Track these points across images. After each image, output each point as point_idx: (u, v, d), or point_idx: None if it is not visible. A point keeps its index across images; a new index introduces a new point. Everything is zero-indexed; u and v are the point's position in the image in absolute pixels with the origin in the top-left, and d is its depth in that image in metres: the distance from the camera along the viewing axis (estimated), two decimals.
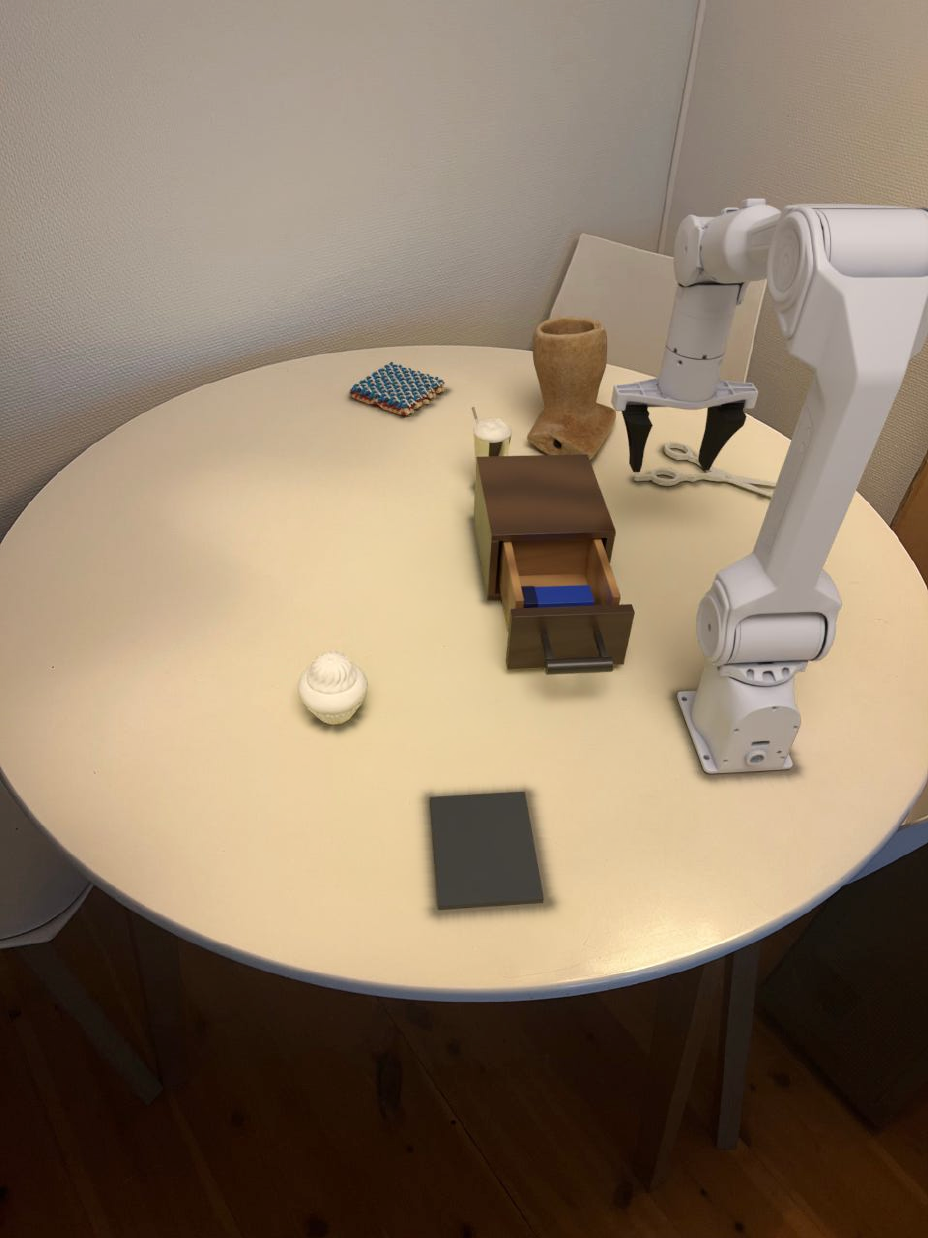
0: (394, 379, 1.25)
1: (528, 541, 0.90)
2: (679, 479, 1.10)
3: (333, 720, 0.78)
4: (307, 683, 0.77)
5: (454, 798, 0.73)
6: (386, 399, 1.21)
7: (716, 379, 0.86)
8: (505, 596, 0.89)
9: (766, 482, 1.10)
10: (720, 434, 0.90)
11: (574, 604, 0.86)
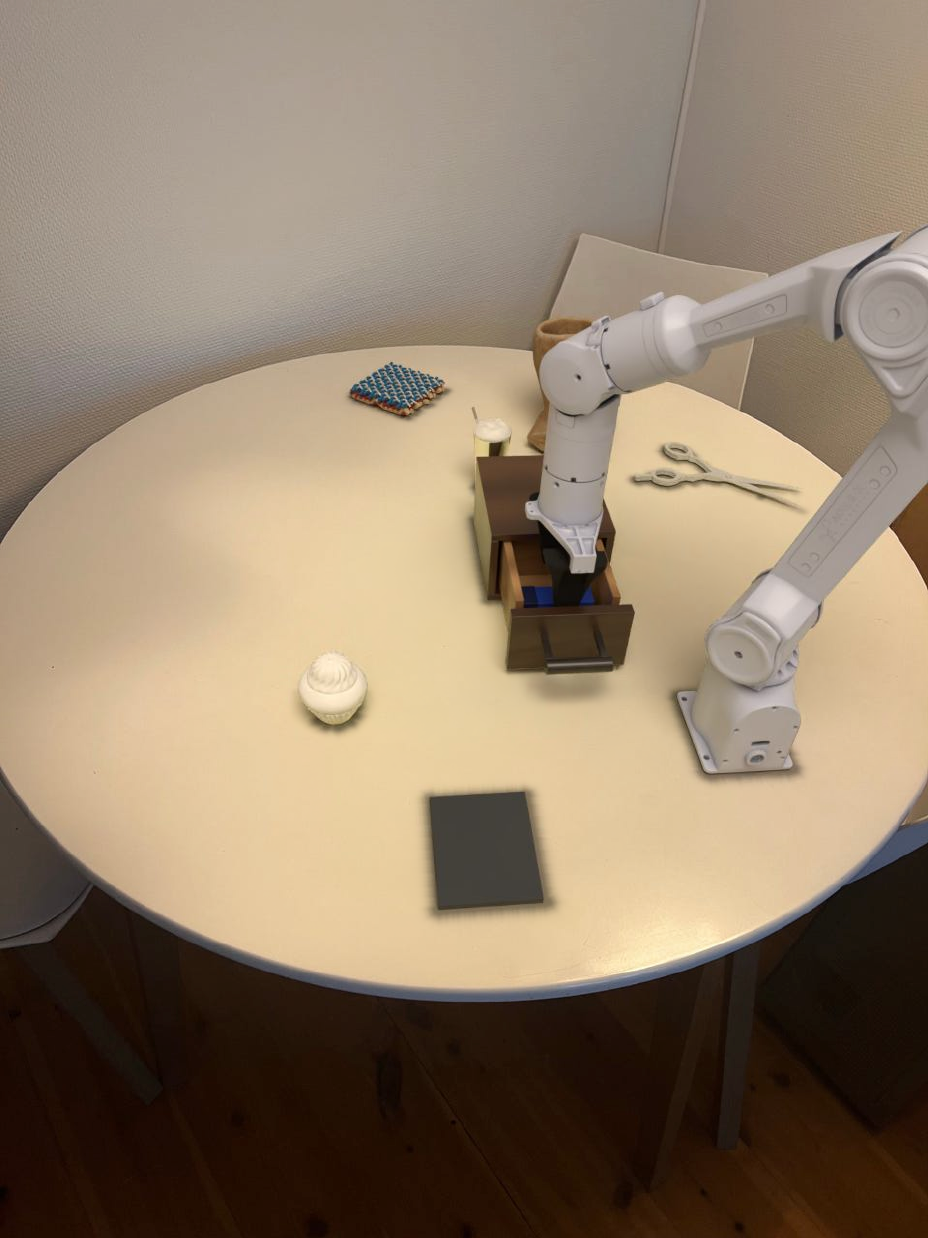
0: (394, 379, 1.25)
1: (528, 541, 0.90)
2: (679, 479, 1.10)
3: (333, 720, 0.78)
4: (307, 683, 0.77)
5: (454, 798, 0.73)
6: (386, 399, 1.21)
7: None
8: (505, 596, 0.89)
9: (766, 482, 1.10)
10: None
11: None
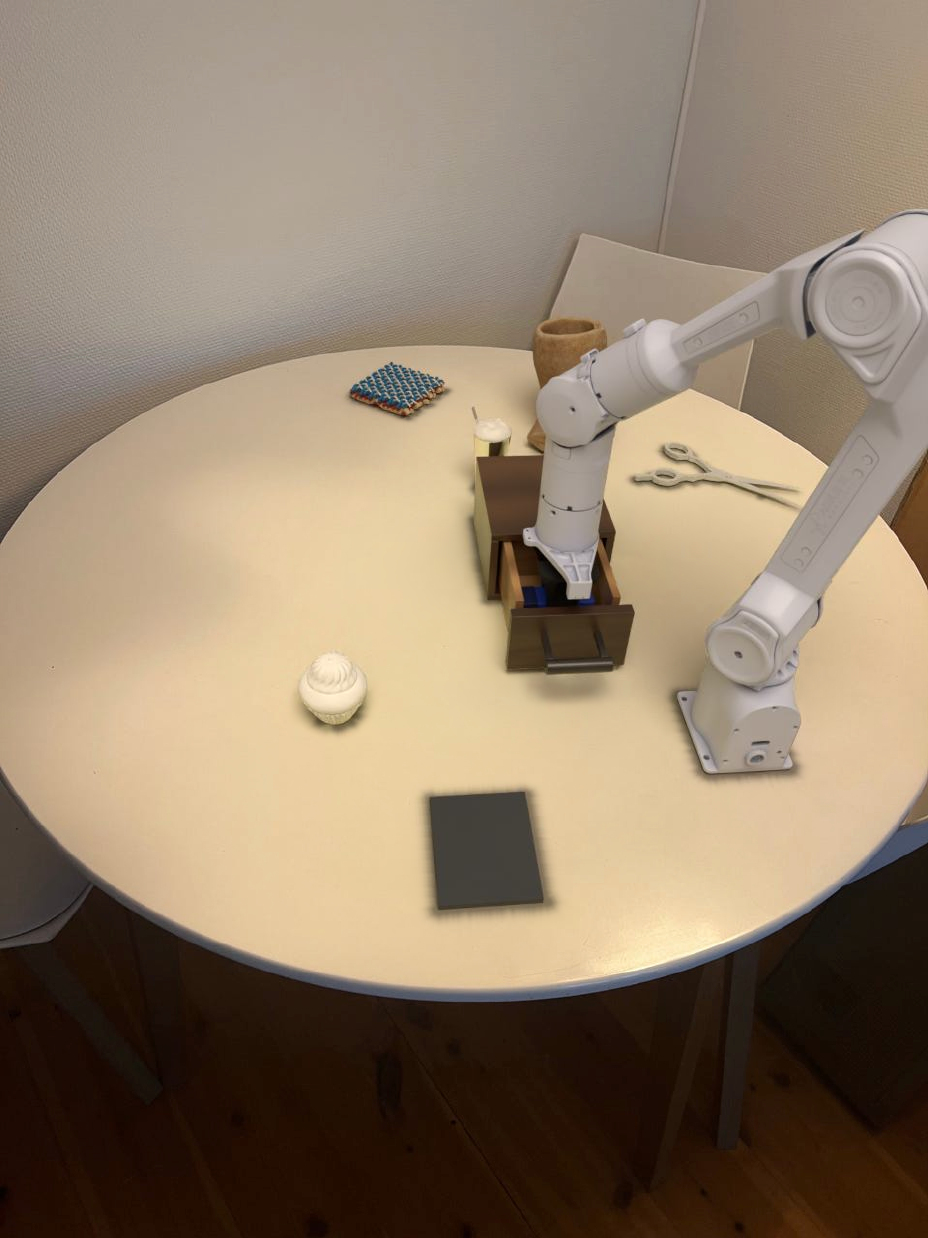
0: (394, 379, 1.25)
1: None
2: (679, 479, 1.10)
3: (333, 720, 0.78)
4: (307, 683, 0.77)
5: (454, 798, 0.73)
6: (386, 399, 1.21)
7: None
8: (505, 596, 0.88)
9: (766, 482, 1.10)
10: None
11: None
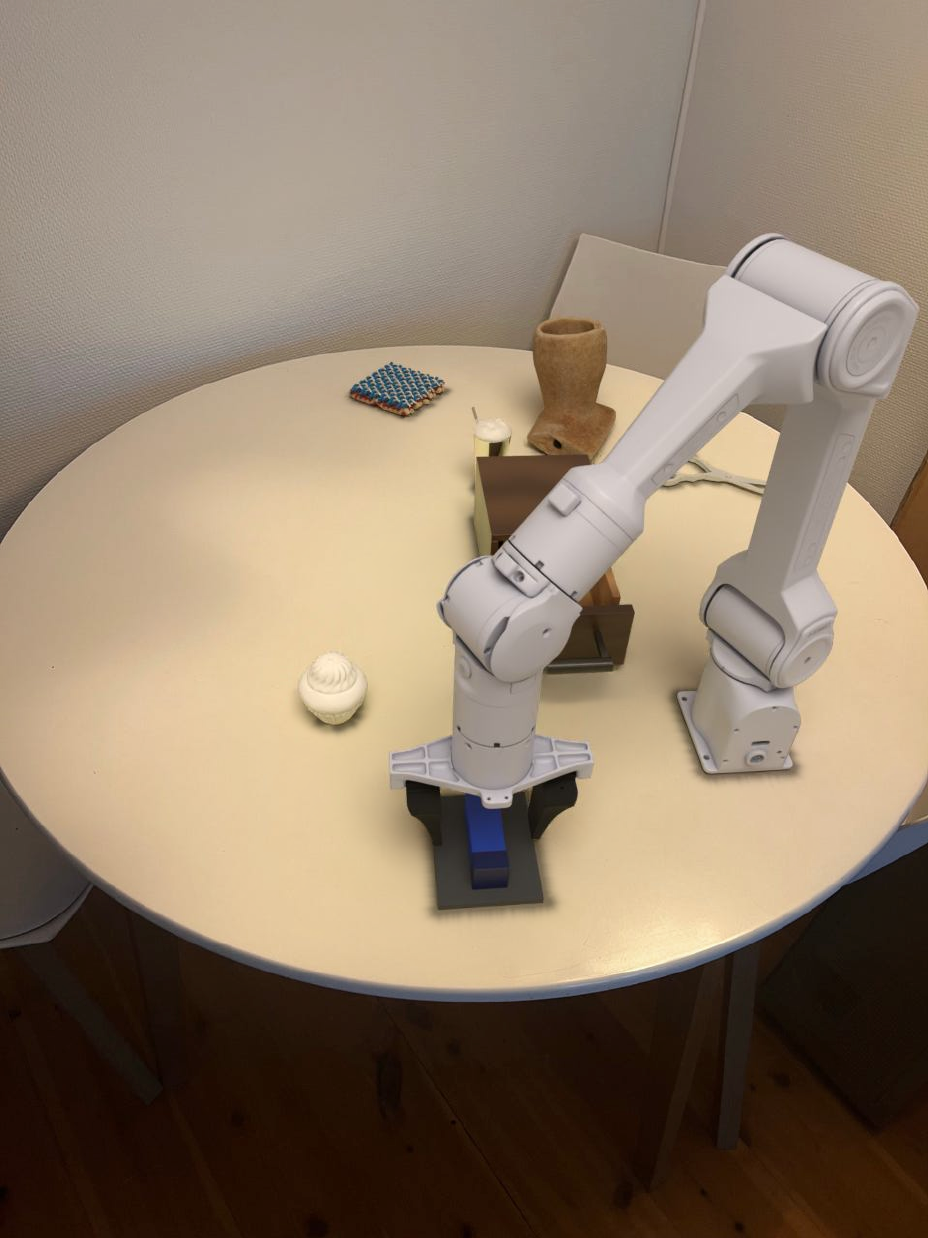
0: (394, 379, 1.25)
1: None
2: (679, 479, 1.10)
3: (333, 720, 0.78)
4: (307, 683, 0.77)
5: (454, 798, 0.73)
6: (386, 399, 1.21)
7: None
8: None
9: None
10: None
11: None
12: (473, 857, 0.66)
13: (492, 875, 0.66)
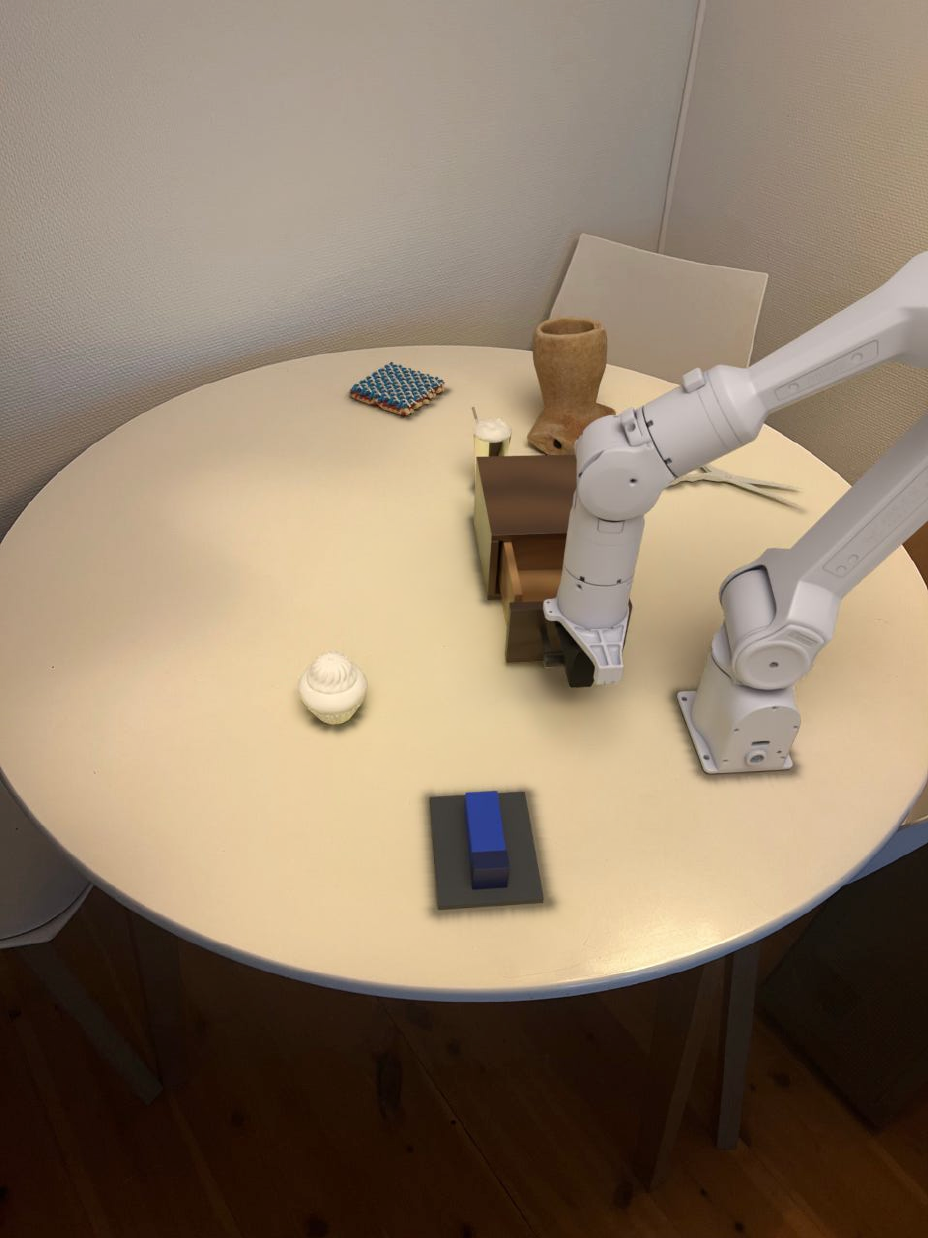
0: (394, 379, 1.25)
1: None
2: (679, 479, 1.10)
3: (333, 720, 0.78)
4: (307, 683, 0.77)
5: (454, 798, 0.73)
6: (386, 399, 1.21)
7: None
8: (504, 590, 0.89)
9: (766, 482, 1.10)
10: None
11: None
12: (473, 857, 0.66)
13: (492, 875, 0.66)
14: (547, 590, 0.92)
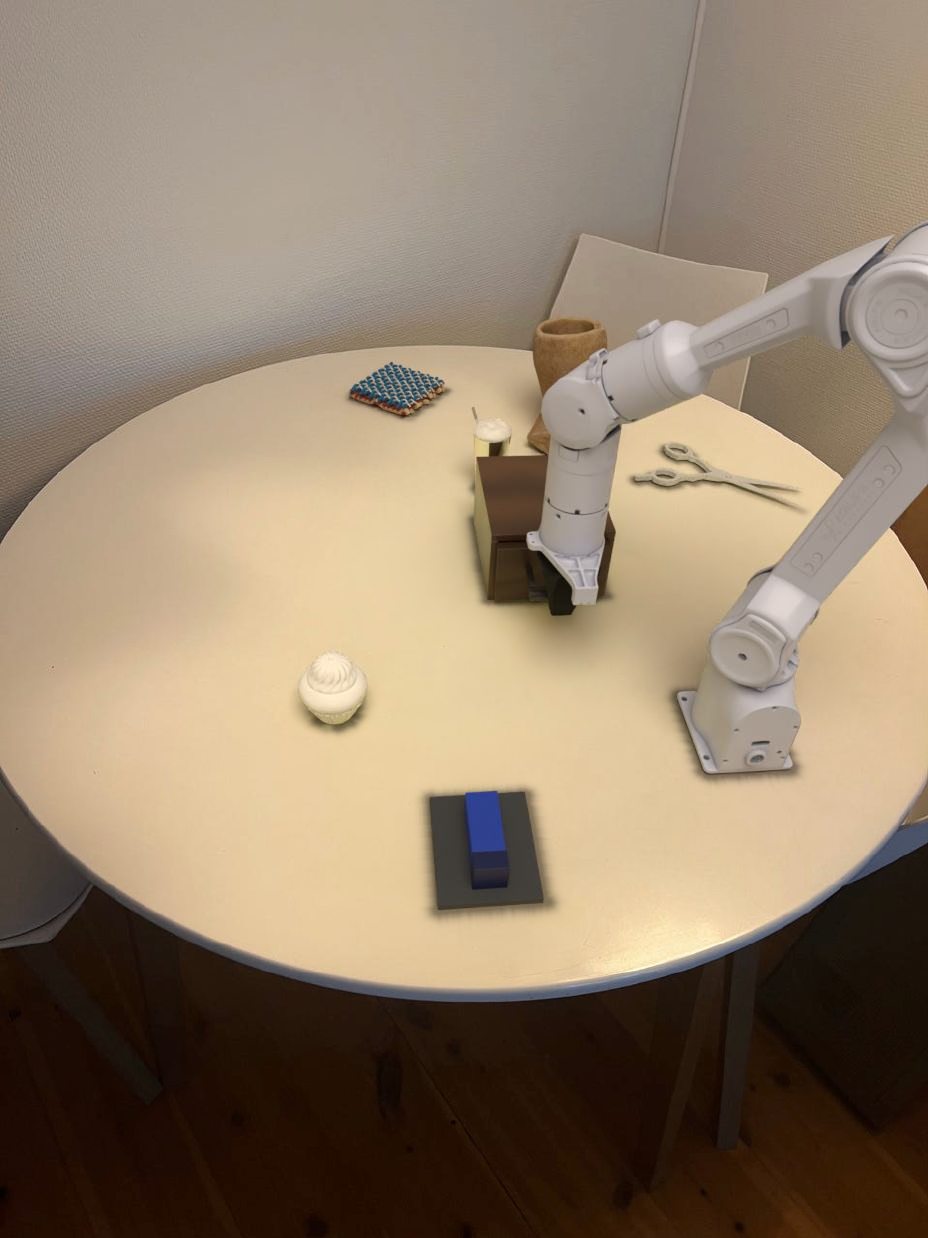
0: (394, 379, 1.25)
1: None
2: (679, 479, 1.10)
3: (333, 720, 0.78)
4: (307, 683, 0.77)
5: (454, 798, 0.73)
6: (386, 399, 1.21)
7: None
8: None
9: (766, 482, 1.10)
10: None
11: None
12: (473, 857, 0.66)
13: (492, 875, 0.66)
14: None
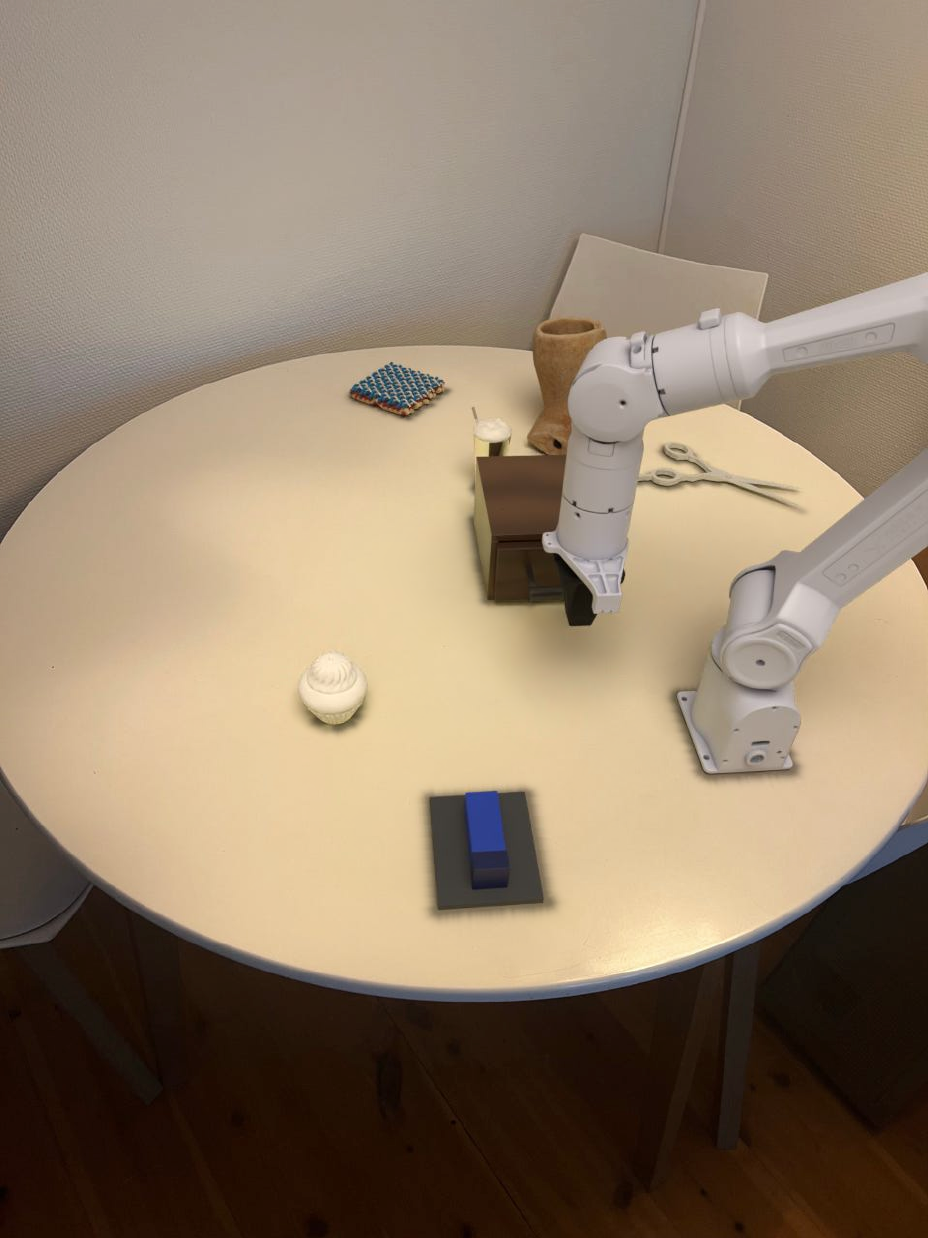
0: (394, 379, 1.25)
1: None
2: (679, 479, 1.10)
3: (333, 720, 0.78)
4: (307, 683, 0.77)
5: (454, 798, 0.73)
6: (386, 399, 1.21)
7: None
8: None
9: (766, 482, 1.10)
10: None
11: None
12: (473, 857, 0.66)
13: (492, 875, 0.66)
14: None
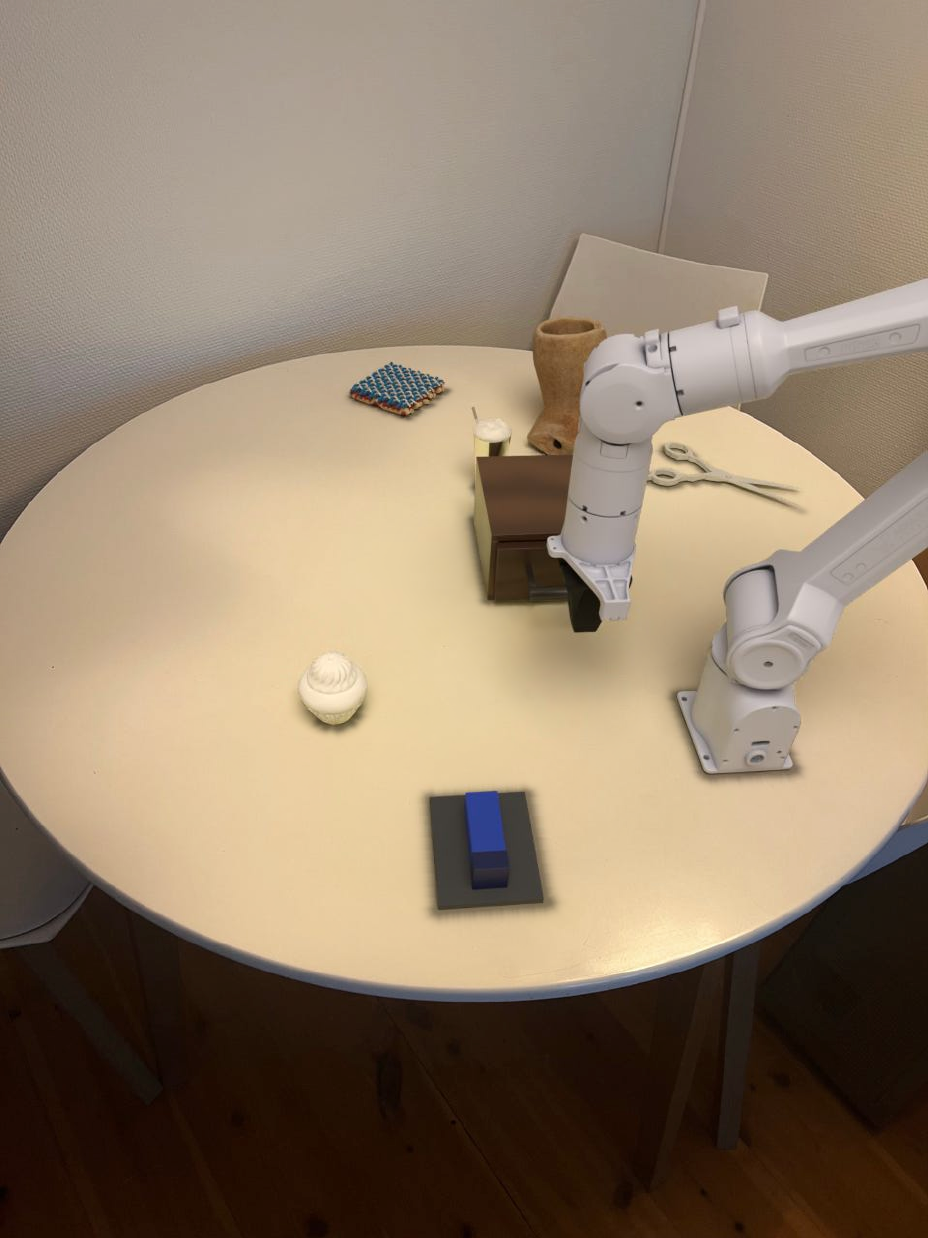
0: (394, 379, 1.25)
1: None
2: (679, 479, 1.10)
3: (333, 720, 0.78)
4: (307, 683, 0.77)
5: (454, 798, 0.73)
6: (386, 399, 1.21)
7: None
8: None
9: (766, 482, 1.10)
10: None
11: None
12: (473, 857, 0.66)
13: (492, 875, 0.66)
14: None
